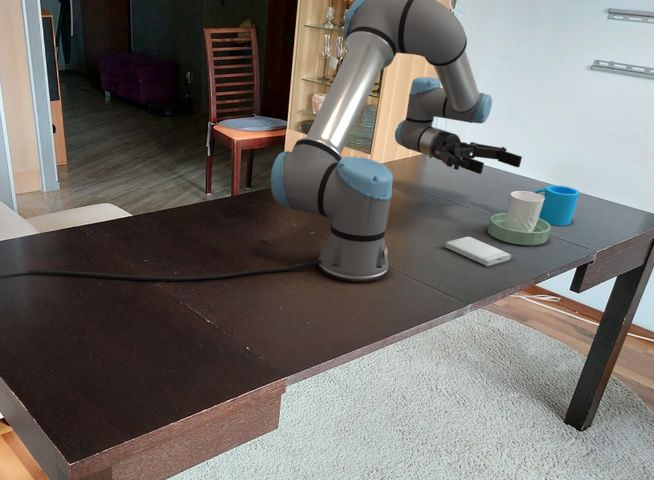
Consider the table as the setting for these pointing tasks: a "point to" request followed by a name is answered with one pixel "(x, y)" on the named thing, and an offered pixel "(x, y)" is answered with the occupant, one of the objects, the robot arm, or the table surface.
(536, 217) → the white cup
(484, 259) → the hard drive
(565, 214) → the mug
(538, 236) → the bowl
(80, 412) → the table surface
